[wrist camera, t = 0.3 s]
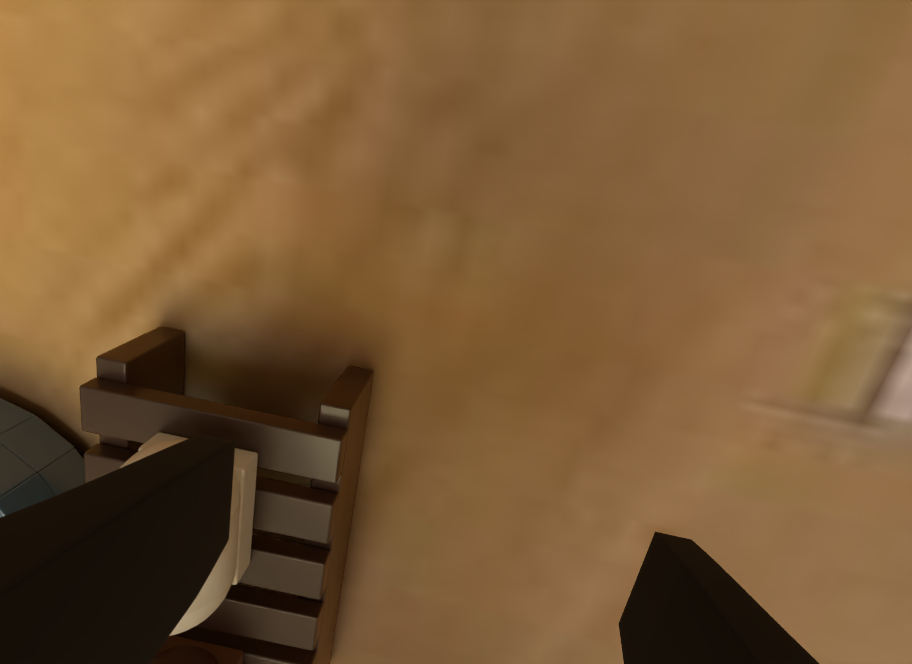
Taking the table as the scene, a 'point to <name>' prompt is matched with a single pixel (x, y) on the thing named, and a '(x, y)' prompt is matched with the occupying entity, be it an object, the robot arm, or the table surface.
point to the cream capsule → (240, 532)
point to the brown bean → (195, 653)
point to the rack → (276, 502)
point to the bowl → (33, 460)
